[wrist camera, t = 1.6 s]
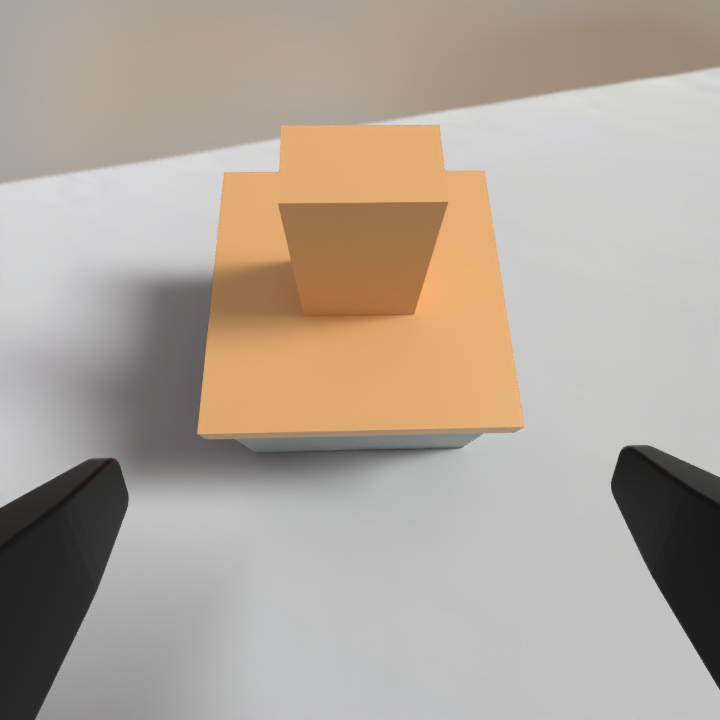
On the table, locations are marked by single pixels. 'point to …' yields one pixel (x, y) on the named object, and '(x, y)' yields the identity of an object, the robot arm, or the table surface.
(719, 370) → the table surface
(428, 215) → the lid
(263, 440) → the tub
